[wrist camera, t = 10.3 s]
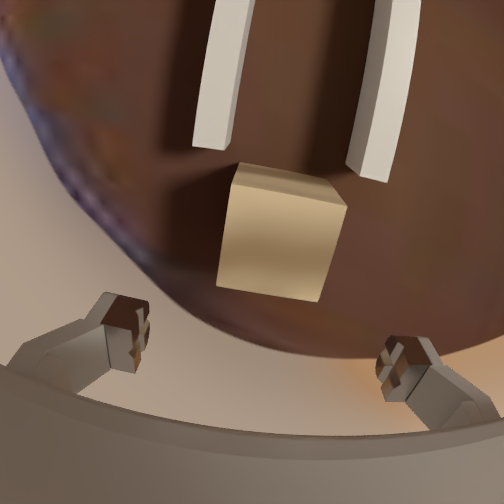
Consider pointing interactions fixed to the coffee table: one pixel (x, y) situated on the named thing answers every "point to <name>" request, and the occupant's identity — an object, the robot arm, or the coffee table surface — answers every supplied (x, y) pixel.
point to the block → (279, 232)
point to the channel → (372, 90)
